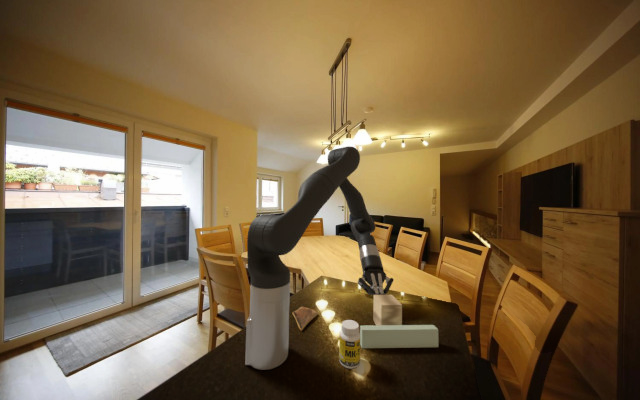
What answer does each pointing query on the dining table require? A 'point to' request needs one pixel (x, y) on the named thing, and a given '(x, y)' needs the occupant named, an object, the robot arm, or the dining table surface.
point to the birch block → (387, 310)
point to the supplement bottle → (349, 344)
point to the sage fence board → (398, 336)
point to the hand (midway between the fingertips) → (381, 307)
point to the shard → (304, 316)
